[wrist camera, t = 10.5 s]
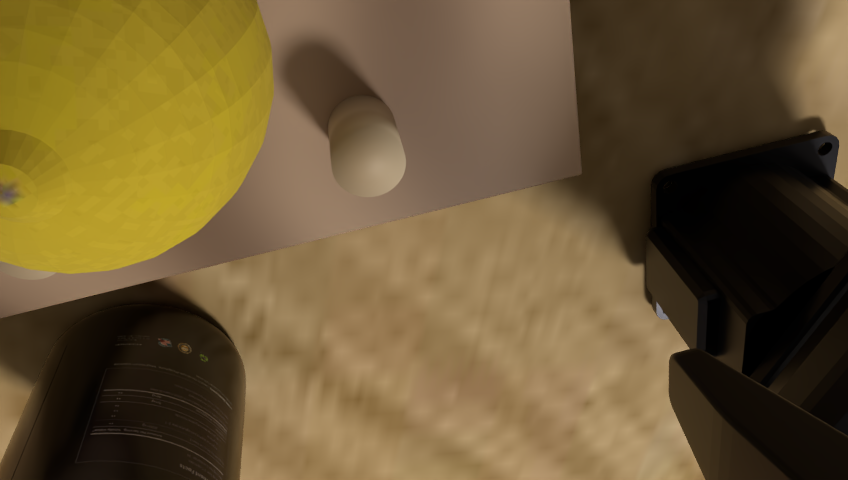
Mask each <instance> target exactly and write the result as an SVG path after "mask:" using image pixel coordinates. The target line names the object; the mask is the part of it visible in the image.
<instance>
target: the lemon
mask: <svg viewBox="0 0 848 480" xmlns="http://www.w3.org/2000/svg"><path fill="white" fill-rule="evenodd" d="M273 96H274V80H273V64H272V48H271V43H270V39H269V36H268V33H267V30H266V27H265V24H264V21H263V18H262V15H261V12H260V9H259V6H258V3H257V0H0V261H2V262H5V263H9V264H12V265H16V266H19V267H23V268H26V269H30V270H38V271H48V272H57V273H66V274H75V273H87V272H99V271H109V270H114V269H119V268H122V267H126V266H129V265H132V264H135V263H139V262H142V261H145V260H148V259H151V258H155V257H156V256H158V255H160V254H162V253H163V252H165V251H167V250H169V249H170V248H172V247H174V246H175V245H177V244H179V243H180V242H182V241H184V240H186V239H187V238H189V237H191V236H192V235H194V234H196V233H197V232H198V231H199V230H200V229H201V228H203V227H204V226H205V225H206V224H207V223H208V222H209V221H210V220H211V219H212V217H213V216H214V215H215V214H216V213H217V212H218V211H219V210H220V209H221V208H222V207H223V206H224V205H225V204H226V203H227V202H228V201H229V200H230V199H231V198H232V197H233V195H234V194H235V193H236V192H237V190H238V189H239V187H240V186H241V184H242V183H243V181H244V179H245V177H246V175H247V173H248V171H249V169H250V167H251V166H252V164H253V162H254V160H255V158H256V156H257V154H258V152H259V150H260V148H261V146H262V144H263V142H264V138H265V134H266V129H267V125H268V120H269V115H270V110H271V106H272V101H273Z"/></svg>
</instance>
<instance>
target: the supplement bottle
mask: <svg viewBox="0 0 848 480" xmlns="http://www.w3.org/2000/svg"><path fill="white" fill-rule="evenodd" d="M245 394H246V377H245V369H244V365H243V362H242V359H241V357H240V355H239V353H238V351H237V349H236V348H235V346H234V345H233V343H232V342H231V341H230V340H229V339H228V338H227V336H226V335H225V334H224V333H223V332H221V331H220V330H219V329H218V328H217V327H215V326H214V325H213V324H211V323H210V322H208V321H206V320H205V319H203V318H201V317H199V316H197V315H195V314H192V313H190V312H187V311H184V310H181V309H178V308H174V307H169V306H163V305H156V304H132V305H123V306H117V307H113V308H109V309H105V310H102V311H99V312H97V313H94V314H92V315H90V316H88V317H86V318H84V319H82V320H80V321H79V322H77V323H76V324H74V325H73V326H72V327H71V328H69V329H68V330H67V331H66V332H65V333H64V334H63V335H62V336H61V337H60V338H59V339H58V341H57V342H56V343H55V345H54V346H53V348H52V350H51V351H50V353H49V355H48V357H47V359H46V361H45V363H44V366H43V368H42V370H41V372H40V374H39V376H38V378H37V381H36V383H35V385H34V388H33V390H32V392H31V394H30V397H29V399H28V401H27V404H26V406H25V408H24V411H23V413H22V415H21V417H20V420H19V422H18V424H17V427H16V429H15V431H14V433H13V436H12V438H11V440H10V443H9V445H8V447H7V449H6V452H5V454H4V456H3V459H2V461H1V463H0V480H240V469H241V455H242V441H243V426H244V412H245Z"/></svg>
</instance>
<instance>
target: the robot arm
mask: <svg viewBox="0 0 848 480" xmlns="http://www.w3.org/2000/svg"><path fill="white" fill-rule="evenodd" d="M823 143H824V146H823V147H822V148H821V149H819V147H820V146H821V145H822V144H823ZM818 149H819V150H818ZM838 149H839V140H838V139H837V137H835V136H834V135H832V134H831V133H829V132H827V131H818V132H814V133H810V134H806V135H802V136H798V137H794V138H790V139H786V140H782V141H778V142H774V143H770V144H766V145H762V146H757V147H753V148H749V149H745V150H741V151H737V152H733V153H729V154H725V155H721V156H717V157H713V158H709V159H705V160H701V161H697V162H693V163H689V164H685V165H681V166H677V167H673V168H669V169H665V170H663V171H660V172H659V173H658V174H657V175H655V177H654V178H653V180H652V184H651V226H652V228H651V229H649V231H648V233H647V235H646V286H647V289H648V290H649V292H650V293H651V294H652V307H653V310H654V312H655V313H656V314H657V316H658V317H659V318H661V319H669V320H670V321H671V323H672V324H673V325H674V327H675V328H676V330H677V331H678V333H679V334H680V335H681V337H682V338H683V340H684V341H685V342H686V344H687V345H688V347H689V348H690V349H689V350H685V351H681V352H677V353H674V354H672V355H671V357H670V360H669V397H670V401H671V405H672V407H673V410H674V412H675V414H676V416H677V419H678V421H679V423H680V425H681V427H682V430H683V432H684V434H685V436H686V438H687V440H688V443H689V445H690V447H691V449H692V451H693V454H694V456H695V458H696V460H697V462H698V464H699V467H700V469H701V471H702V473H703V475H704V478H705V480H848V189H846V188H845V187H843V186H842V185H841V184H839V183H838V182H836V181H835V180H834V174H835V168H836V162H837V156H838ZM669 181H672V183H671V185H670V186H669V187H667V188H663V187H664V185H665V184H666V183H667V182H669Z"/></svg>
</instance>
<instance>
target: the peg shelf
mask: <svg viewBox="0 0 848 480" xmlns="http://www.w3.org/2000/svg"><path fill="white" fill-rule="evenodd" d="M257 3H258V6H259V9H260V12H261V15H262V18H263V21H264V24H265V27H266V30H267V33H268V36H269V39H270V43H271V48H272V64H273V80H274V96H273V101H272V106H271V110H270V115H269V120H268V125H267V129H266V134H265V138H264V142H263V144H262V146H261V148H260V150H259V152H258V154H257V156H256V158H255V160H254V162H253V164H252V166H251V167H250V169H249V171H248V173H247V175H246V177H245V179H244V181H243V183H242V184H241V186H240V187H239V189H238V190H237V192H236V193H235V194H234V195H233V197H232V198H231V199H230V200H229V201H228V202H227V203H226V204H225V205H224V206H223V207H222V208H221V209H220V210H219V211H218V212H217V213H216V214H215V215H214V216H213V217H212V219H211V220H210V221H209V222H208V223H207V224H206V225H205V226H204V227H203V228H201V229H200V230H199V231H198V232H197V233H196V234H194V235H192V236H191V237H189V238H187V239H186V240H184V241H182V242H180V243H179V244H177V245H175V246H174V247H172V248H170V249H169V250H167V251H165V252H163V253H162V254H160V255H158V256H156V257H155V258H151V259H148V260H145V261H142V262H139V263H135V264H132V265H129V266H126V267H122V268H119V269H114V270H109V271H99V272H87V273H75V274H66V273H57V272H48V271H38V270H30V269H26V268H23V267H19V266H16V265H12V264H9V263H5V262H2V261H0V318H4V317H8V316H12V315H16V314H20V313H24V312H28V311H32V310H36V309H40V308H44V307H48V306H52V305H56V304H60V303H64V302H68V301H72V300H76V299H80V298H84V297H88V296H92V295H96V294H101V293H105V292H109V291H113V290H117V289H121V288H125V287H129V286H133V285H137V284H141V283H145V282H149V281H153V280H157V279H161V278H165V277H169V276H173V275H177V274H181V273H185V272H189V271H193V270H197V269H201V268H206V267H210V266H214V265H218V264H222V263H226V262H230V261H234V260H238V259H242V258H246V257H250V256H254V255H258V254H262V253H266V252H270V251H274V250H278V249H282V248H286V247H290V246H294V245H298V244H302V243H306V242H311V241H315V240H319V239H323V238H327V237H331V236H335V235H339V234H343V233H347V232H351V231H355V230H359V229H363V228H367V227H371V226H375V225H379V224H383V223H387V222H391V221H395V220H399V219H403V218H407V217H411V216H416V215H420V214H424V213H428V212H432V211H436V210H440V209H444V208H448V207H452V206H456V205H460V204H464V203H468V202H472V201H476V200H480V199H484V198H488V197H492V196H496V195H500V194H504V193H508V192H512V191H516V190H521V189H525V188H529V187H533V186H537V185H541V184H545V183H549V182H553V181H557V180H561V179H565V178H569V177H573V176H577V175H581V174H582V167H581V153H580V139H579V125H578V111H577V97H576V84H575V70H574V56H573V42H572V28H571V14H570V0H257Z"/></svg>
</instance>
